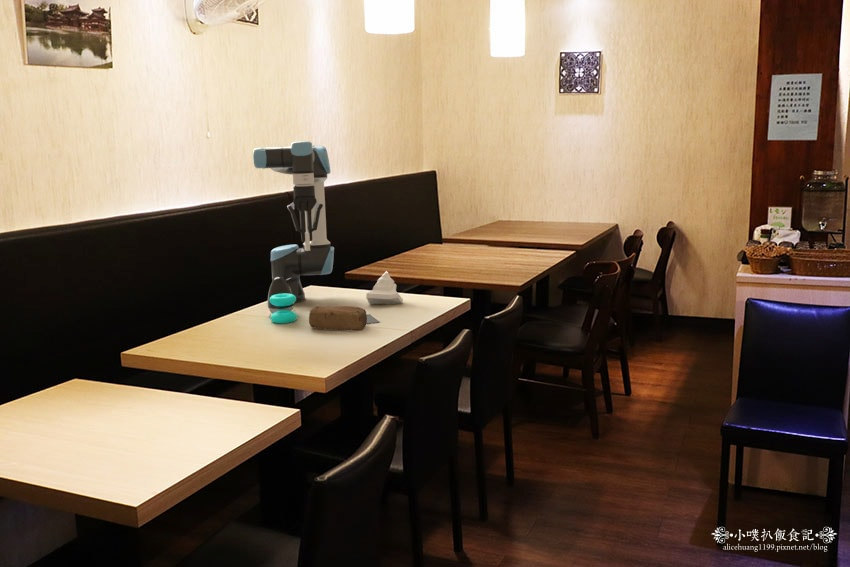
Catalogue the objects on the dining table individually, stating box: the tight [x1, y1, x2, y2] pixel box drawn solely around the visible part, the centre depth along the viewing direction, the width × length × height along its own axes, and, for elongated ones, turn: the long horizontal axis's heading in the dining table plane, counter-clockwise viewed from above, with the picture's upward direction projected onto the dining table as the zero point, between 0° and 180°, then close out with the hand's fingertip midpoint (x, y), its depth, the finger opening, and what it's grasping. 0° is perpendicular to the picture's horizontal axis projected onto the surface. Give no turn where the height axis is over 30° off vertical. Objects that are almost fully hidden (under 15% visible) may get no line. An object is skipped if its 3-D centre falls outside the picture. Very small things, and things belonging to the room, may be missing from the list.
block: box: [308, 305, 368, 331], centre depth 289 cm, size 11×8×20 cm
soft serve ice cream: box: [365, 270, 404, 305], centre depth 327 cm, size 12×15×14 cm
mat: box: [366, 313, 380, 325], centre depth 298 cm, size 14×21×1 cm, turn 110°
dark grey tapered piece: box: [267, 277, 295, 315], centre depth 311 cm, size 10×10×15 cm
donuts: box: [269, 293, 298, 324], centre depth 301 cm, size 10×10×10 cm
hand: (307, 250), depth 288 cm, fingers closed
